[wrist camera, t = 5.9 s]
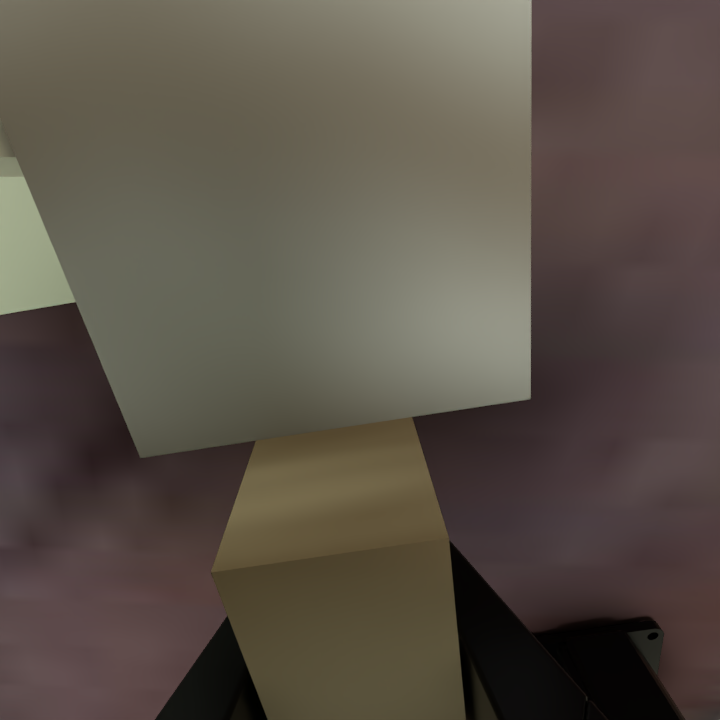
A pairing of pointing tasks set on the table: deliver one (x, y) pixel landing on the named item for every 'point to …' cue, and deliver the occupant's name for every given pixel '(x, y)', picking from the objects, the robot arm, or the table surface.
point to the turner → (296, 289)
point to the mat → (27, 254)
